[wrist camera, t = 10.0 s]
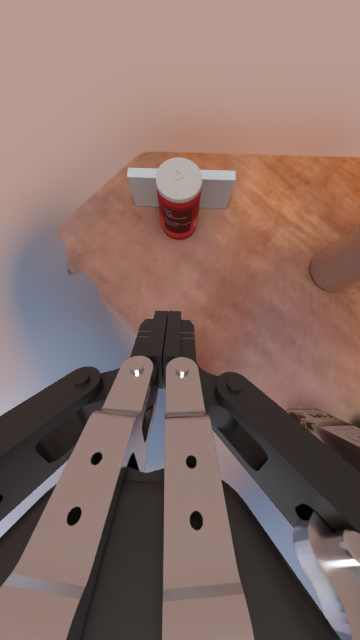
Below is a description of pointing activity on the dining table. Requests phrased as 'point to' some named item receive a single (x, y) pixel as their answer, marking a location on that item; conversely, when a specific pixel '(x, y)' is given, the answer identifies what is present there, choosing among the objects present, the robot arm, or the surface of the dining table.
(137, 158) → the dining table surface
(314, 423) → the coffee box
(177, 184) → the canned food
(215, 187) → the stop board
